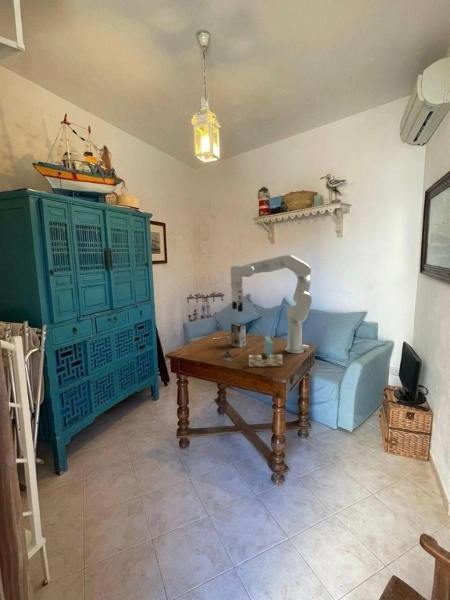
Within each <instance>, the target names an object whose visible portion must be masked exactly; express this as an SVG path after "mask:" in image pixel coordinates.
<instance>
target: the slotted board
mask: <svg viewBox="0 0 450 600" xmlns="http://www.w3.org/2000/svg"><path fill="white" fill-rule="evenodd" d="M283 359H284V358H283V354H280V353H279V354H273V355H269V359H267V358H266V359H263V356H262V354H249V355H248V366H249V367H277V366H279V367H280V366H283V362H284V361H283Z"/></svg>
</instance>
